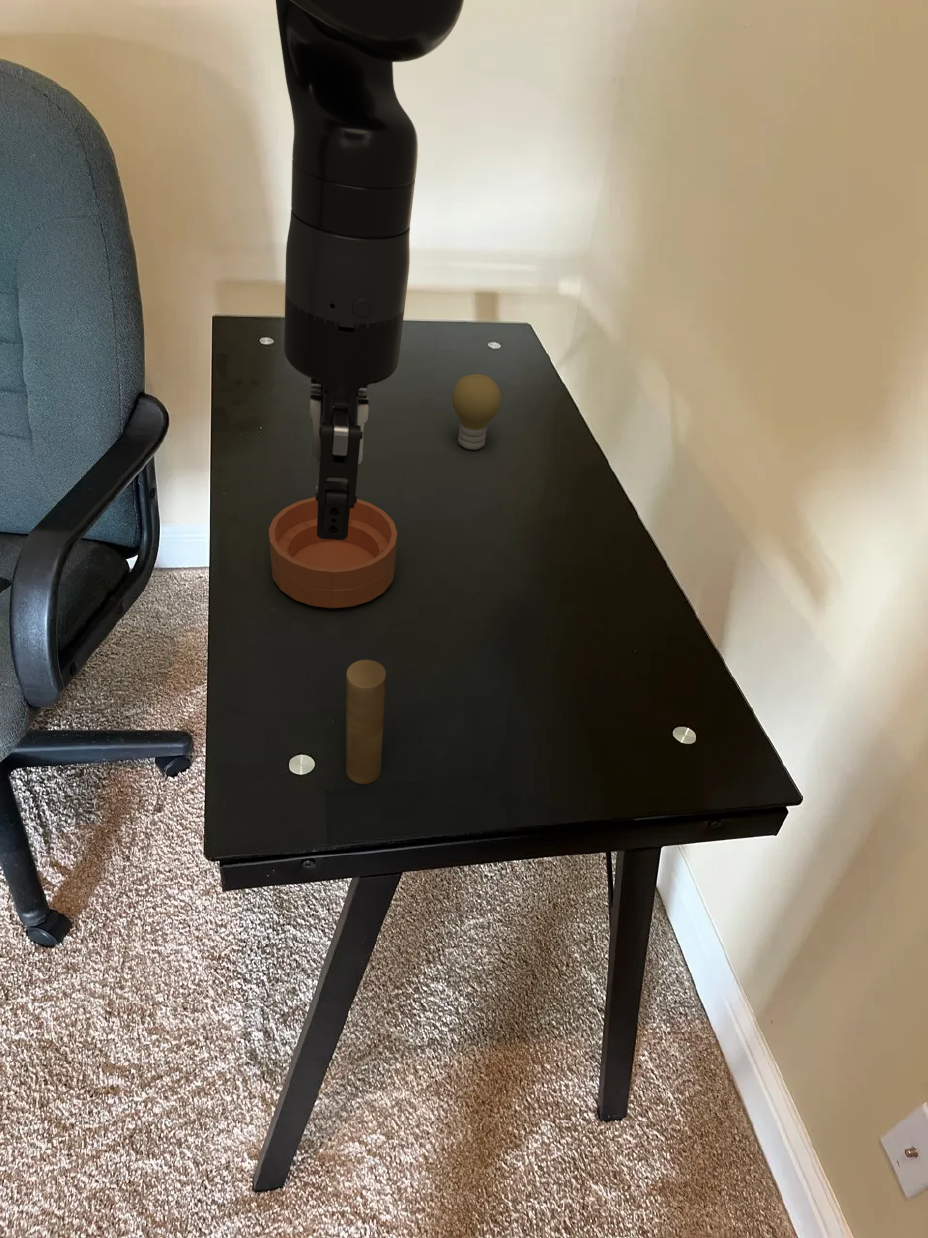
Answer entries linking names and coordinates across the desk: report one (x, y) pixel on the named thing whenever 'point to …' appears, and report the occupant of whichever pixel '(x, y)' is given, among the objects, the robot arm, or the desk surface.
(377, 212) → the robot arm
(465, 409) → the light bulb
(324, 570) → the bowl
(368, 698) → the stick
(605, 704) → the desk surface
